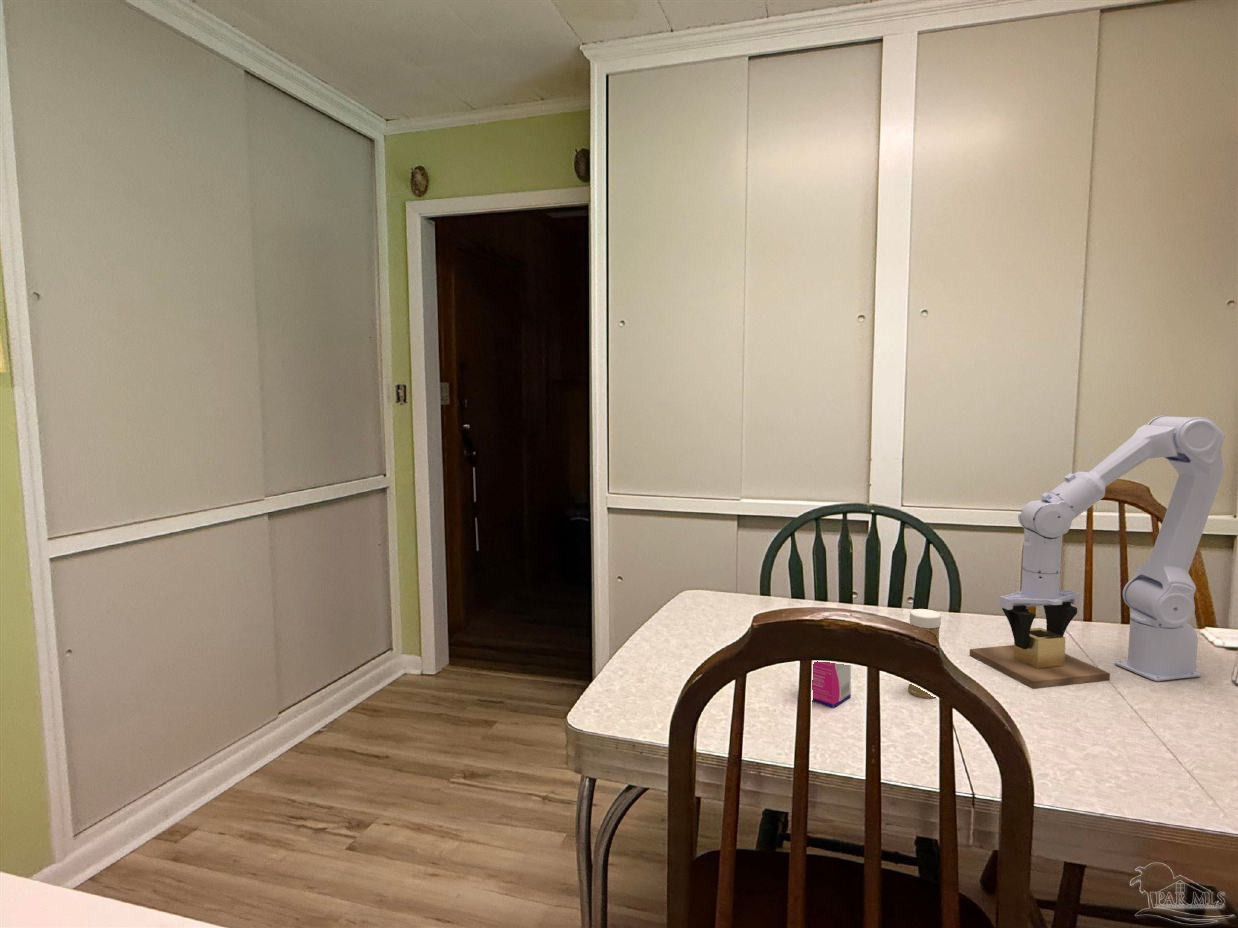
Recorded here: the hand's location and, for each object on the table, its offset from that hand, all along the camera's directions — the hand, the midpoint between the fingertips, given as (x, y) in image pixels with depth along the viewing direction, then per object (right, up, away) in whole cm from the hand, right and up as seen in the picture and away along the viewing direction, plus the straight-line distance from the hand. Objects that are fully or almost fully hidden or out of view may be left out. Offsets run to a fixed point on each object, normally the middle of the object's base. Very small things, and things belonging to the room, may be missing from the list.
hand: (1037, 645), depth 123 cm
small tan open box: (0, -3, 0) cm, 3 cm away
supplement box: (-41, -6, -11) cm, 42 cm away
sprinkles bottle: (-24, -5, -10) cm, 27 cm away
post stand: (0, -4, 0) cm, 4 cm away
